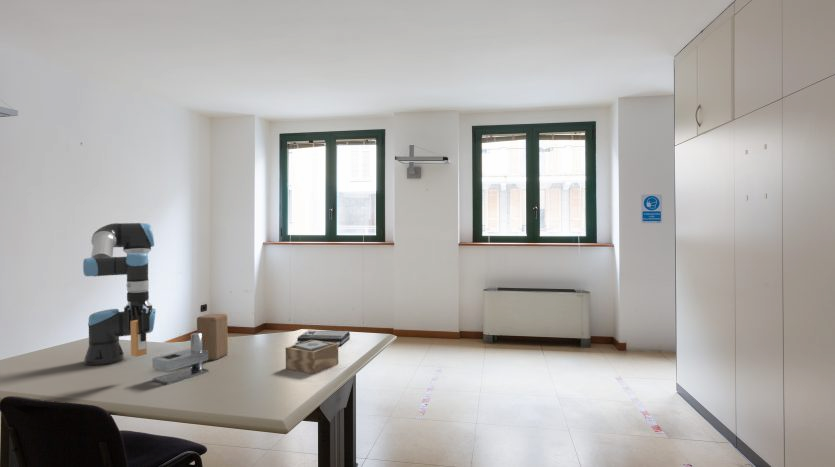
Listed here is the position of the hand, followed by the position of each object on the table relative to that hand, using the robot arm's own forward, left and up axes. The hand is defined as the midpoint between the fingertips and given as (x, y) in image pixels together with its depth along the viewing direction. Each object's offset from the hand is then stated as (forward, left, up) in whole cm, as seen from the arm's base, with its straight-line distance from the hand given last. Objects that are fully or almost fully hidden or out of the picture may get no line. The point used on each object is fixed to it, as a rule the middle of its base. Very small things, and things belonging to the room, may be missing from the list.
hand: (138, 348), depth 184 cm
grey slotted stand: (+12, +11, -13) cm, 20 cm away
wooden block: (-1, +35, -13) cm, 37 cm away
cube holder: (+51, +47, -13) cm, 70 cm away
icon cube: (+52, +45, -13) cm, 70 cm away
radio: (+26, +80, -13) cm, 86 cm away
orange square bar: (0, 0, -3) cm, 3 cm away
